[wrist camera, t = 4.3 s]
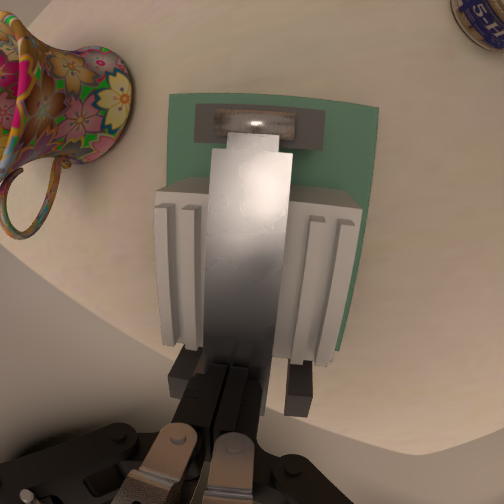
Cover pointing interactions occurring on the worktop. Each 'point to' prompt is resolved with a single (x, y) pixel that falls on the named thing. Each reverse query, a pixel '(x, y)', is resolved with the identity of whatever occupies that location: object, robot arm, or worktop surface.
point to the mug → (54, 109)
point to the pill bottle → (482, 21)
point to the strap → (246, 240)
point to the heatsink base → (305, 163)
